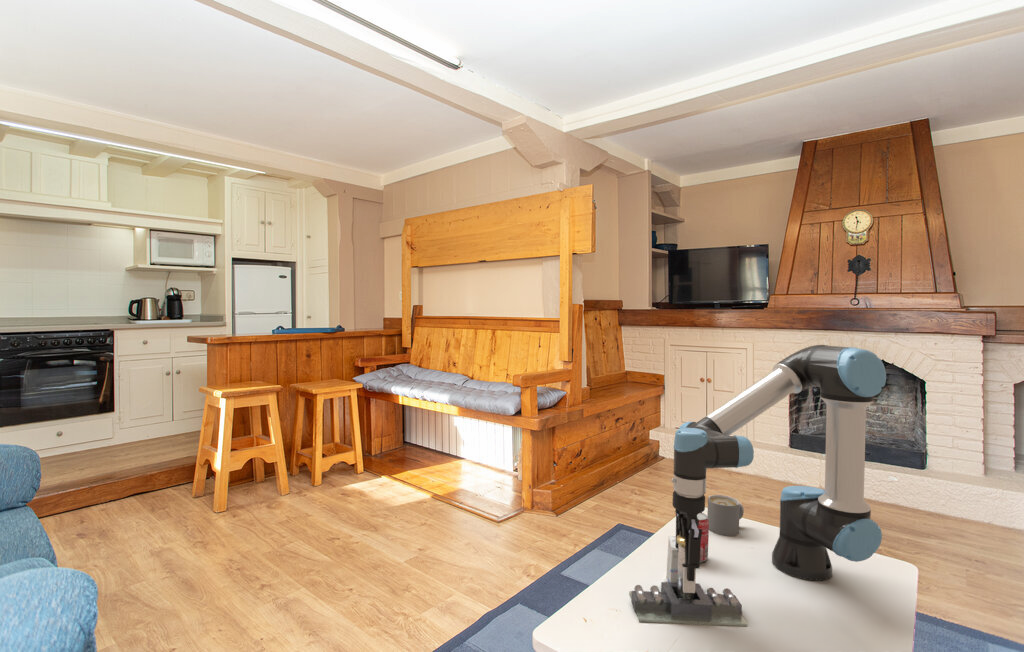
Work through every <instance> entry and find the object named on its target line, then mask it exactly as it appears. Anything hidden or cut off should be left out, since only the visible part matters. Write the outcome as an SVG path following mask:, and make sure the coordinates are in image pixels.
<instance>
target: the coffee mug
mask: <svg viewBox="0 0 1024 652" xmlns="http://www.w3.org/2000/svg"><path fill="white" fill-rule="evenodd" d="M744 510H745V509H744V506H743V504H742V503H741V502H740V500H739V499H737V498H736V497H733V496H729V495H723V494H713V495H709V496H708V498H707V511H706V512H707V514H706V515H707V519H708V521H709V531H710V532H711V533H713V534H717V535H719V536H726V537H733V536H737V535H739V533H740V520H741V519H742V518H743V516H744Z"/></svg>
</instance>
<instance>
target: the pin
mask: <svg viewBox="0 0 1024 652" xmlns="http://www.w3.org/2000/svg"><path fill="white" fill-rule="evenodd" d="M676 541H677V543H678V578H677V599H691V600H694V593H684V592H683V566H682V564H685V538H684V536H681V535H678V536H677V539H676Z"/></svg>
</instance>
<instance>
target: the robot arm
mask: <svg viewBox="0 0 1024 652" xmlns="http://www.w3.org/2000/svg"><path fill="white" fill-rule="evenodd" d="M886 370H887V369H886V368H885V365H884V362H883V360H881V358H879V357H878V356H877V354H876V353H874V352H873V351H870V350H868V349H863V348H858V347H855V346H853V347H852V346H839V345H837V346H835V345H825V344H816V345H815V344H814V345H810V346H807V347H804V348H801V349H799V350H798V351H796V352H793V353H792V354H790V355H788V356H786V357H785V358H782V360H780V361H779V362H777V363H776V364H774V365H773V366H772V371H771V372H769V373H768V374H767V375H765V376H763V377H762V378H760V379H759V380H757V381H756V382H755V383H754V382H753V384H751V385H750V386H749V387H747V388H745V389H744V390H743V391H742V392H739V393H738V394H737V395H735V396H734V397H732V398H731V399H729V400H728V401H726V402H725V403H723V404H722V405H721V406H719V407H718V408H716V409H715V410H713V411H711V412H710V413H709V414H707V415H706V416H705V417H702V418H701V419H700V420H699V421H685V422H684V423H682V424H681V425H680V426H679V428H678V429H677V430H676V431H675V433H674V434H675V435H674V441H673V478H671V479H670V481H671V483H672V488H673V490H674V491H672V507H673V508H674V509H675V511H674V513H675V536H676V539H677V536H678V535H681V536H684V538H685V564H682V566H683V592H684V593H695V583H696V577H697V575H696V572H697V571H696V570H700V568H701V567H700V566H701V565H700V546H701V536H702V530H701V529H698V526H699V520H698V518H697V515H698V514H699V513H704V511H705V510H706V496H705V494H706V493H707V469H724V468H725V469H727V468H729V469H730V468H731V469H732V468H735V469H737V468H742V467H748V466H750V464H752V463H753V460H754V458H755V457H754V454H755V450H754V446H753V444H752V442H751V440H750V439H749V438H748V437H746V436H744V435H735V434H734V433H735V432H737V431H738V430H739V429H741V428H743V427H744V426H746V425H747V424H749V423H750V422H751V421H753V420H755V419H756V418H758V417H759V416H761V414H763V413H764V412H766V411H767V410H769V409H770V408H772V407H774V406H775V405H777V404H778V403H779V402H781V401H782V400H783V399H785V398H786V397H789V396H790V395H791V394H800V393H801V392H802V391H804V390H806V389H809V388H816V387H817V388H819V390H820V391H819V393H820V394H819V398H820V400H822V401H823V402H824V403H825V404H826V420H825V422H826V423H825V462H824V463H825V464H824V467H825V469H824V471H825V472H824V489H822V488H819V487H814V486H806V485H789V486H785V487H783V489H782V490H781V492H780V496H781V497H780V498H779V503H780V504H779V506H780V507H779V536H778V538H777V541H776V544H775V545H774V548H773V550H772V553H771V562H772V564H773V566H774V567H775V568H776V569H778V570H780V571H781V572H783V573H785V574H787V575H789V576H792V577H794V578H798V579H802V580H808V581H825V580H829V579H830V578H832V576H833V565H832V562H831V559H830V555H829V552H828V550H829V551H831V552H833V553H834V554H835V555H836V556H838V557H842V558H844V559H846V560H848V561H851V562H855V563H856V562H863V561H866V560H868V559H869V558H871V557H873V555H874V554H875V553H876V552H877V551H878V550H879V548H880V545H881V543H882V539H883V533H882V528H881V526H879V524H878V523H876V521H874V520H873V519H871V512H872V510H871V509H872V508H871V505H870V504H868V502H867V501H866V500H865V496H864V495H865V467H866V466H865V465H866V464H865V461H866V458H865V457H866V427H867V426H866V424H867V422H866V421H867V416H866V415H867V408H868V407H869V406H870V405H871V404H872V403H874V399H875V398H874V397H875V396H877V395H879V394H880V393H881V392H882V388H884V387H885V386H886V381H887V372H886ZM732 434H734V435H732ZM675 547H676V548H678V543H677V541H676V545H675ZM677 552H678V550H677Z"/></svg>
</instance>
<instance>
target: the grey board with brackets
mask: <svg viewBox="0 0 1024 652" xmlns="http://www.w3.org/2000/svg"><path fill="white" fill-rule="evenodd" d="M660 584H661V585H660V588H659V587H658V586H657V585H652V586H650V588H649V589H650V591H648V590H647V591H645V590H644V589H643V586H642V585H640V584H636V585H635V586H634V589H633V590H630V591H629V592H628V594H629V596H630V601H631V605H632V608H633V612H634V613H635V614H636V617H637V620H638V622H640V623H657V624H658V623H661V624H663V623H665V624H681V625H682V624H684V625H685V624H686V625H706V626H707V625H709V626H710V625H711V626H733V627H734V626H735V627H747V626H748V622H746V620H745V619H744V616H743V615H742V613H743V611H742V610H743V604H742V603H741V602H740V600H739V599H738V598H737V596H736V595H735V594H734V592H732V590H731V589H730V588H724V589H723V590H722V594H719V593H717V592H716V590H715V589H714V588H713V587H709V588H707V589H706V593H705V591H704V589H703V588H702V586H701V584H700V583H696V582H695V593H694V600H691V599H677V583H672V582H667V581H666V582H665V581H661V583H660Z"/></svg>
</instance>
